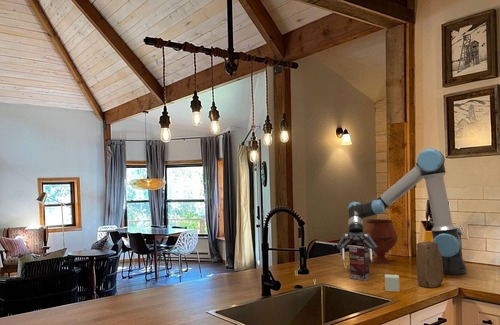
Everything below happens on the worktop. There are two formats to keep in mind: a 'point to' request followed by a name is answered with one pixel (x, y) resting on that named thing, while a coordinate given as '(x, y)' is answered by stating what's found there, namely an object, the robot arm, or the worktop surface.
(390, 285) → the sage cube
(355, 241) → the robot arm
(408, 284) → the worktop surface
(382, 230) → the goblet
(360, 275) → the supplement box
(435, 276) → the block
